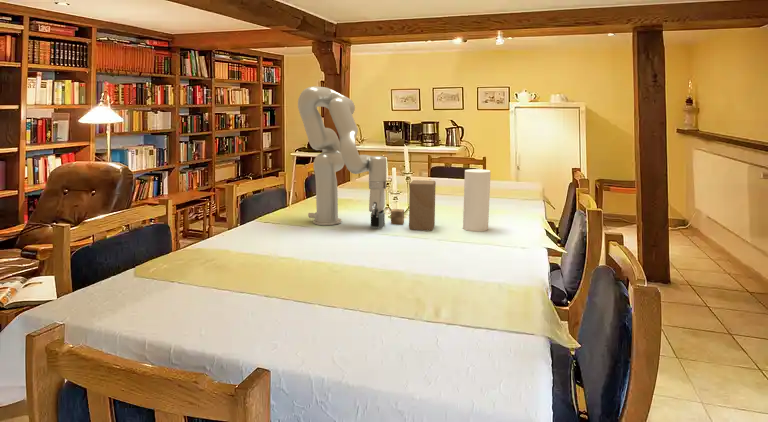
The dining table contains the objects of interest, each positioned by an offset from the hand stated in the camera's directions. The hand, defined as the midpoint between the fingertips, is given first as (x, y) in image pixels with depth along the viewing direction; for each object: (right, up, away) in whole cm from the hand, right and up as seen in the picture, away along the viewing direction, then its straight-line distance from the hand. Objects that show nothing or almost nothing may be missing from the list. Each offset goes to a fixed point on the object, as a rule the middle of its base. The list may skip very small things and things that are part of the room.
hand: (377, 223), depth 224 cm
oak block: (+9, 0, +7) cm, 11 cm away
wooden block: (+19, -2, -1) cm, 19 cm away
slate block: (0, -1, 0) cm, 1 cm away
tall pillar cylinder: (+42, -2, -2) cm, 42 cm away
